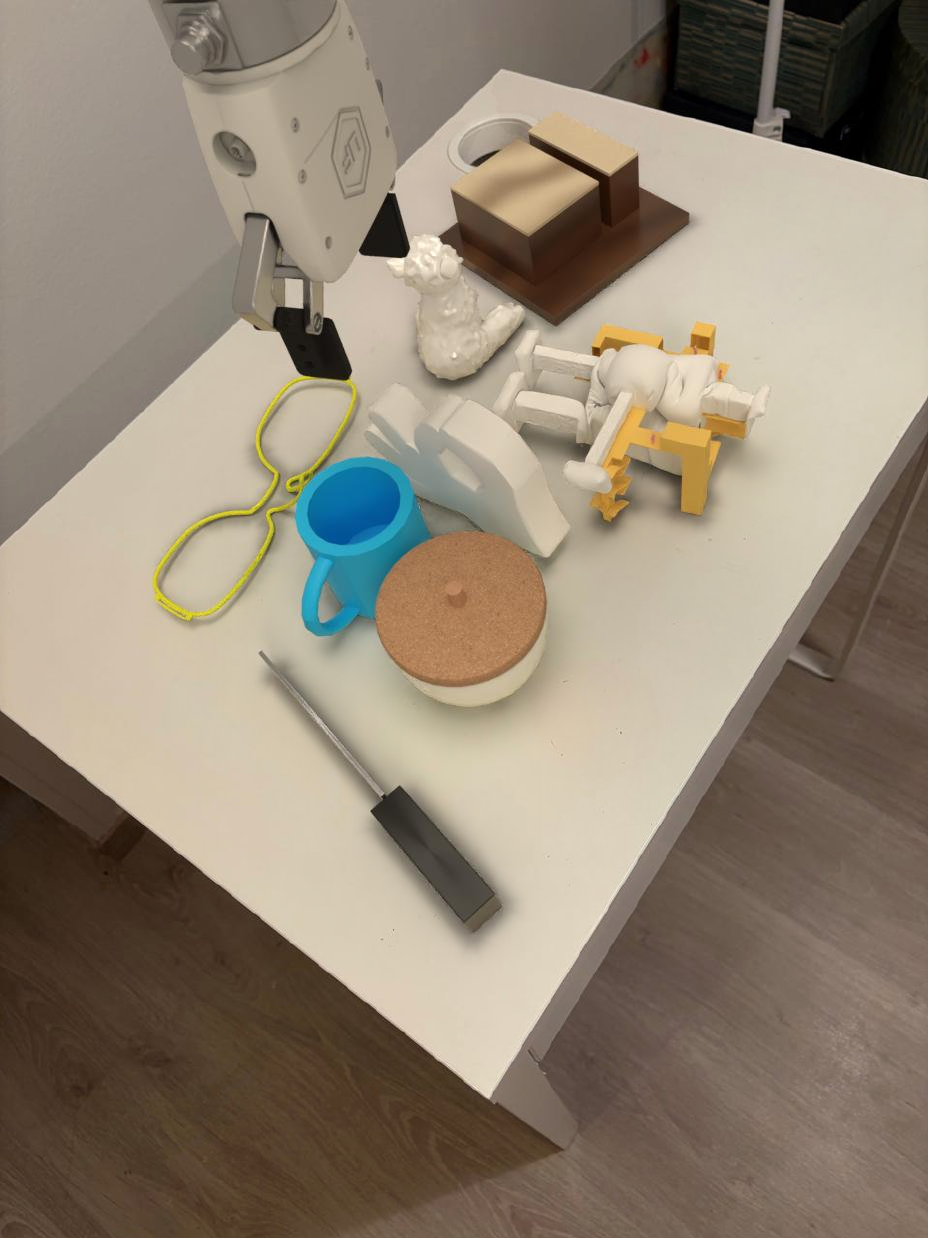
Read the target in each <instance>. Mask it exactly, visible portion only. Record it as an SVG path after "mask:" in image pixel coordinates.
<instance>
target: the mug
mask: <svg viewBox="0 0 928 1238" xmlns="http://www.w3.org/2000/svg"><path fill="white" fill-rule="evenodd" d="M294 520H295V525H296V531H297V534H298V535H299V536H300V538H301V539H302V541H303V543H304V545H305V546H306V548H307V550H308V552H309V553H310V555H311V557H312V558H313V560H314V563H313V564H312V567H311V569H310V572H309V574H308V577H307V579H306V580H305V585H304V589H303V593H302V597H301V609H300V610H301V611H300V612H301V613H300V616H301V619H302V622H303V624H304V628H305V629H306V630H307V631H309V632H310V633H311V634H312V635H314V636H315V637H331V636H333V635H336V634H337V633H338V632H341V631H342V630H344V629H345V628H346V627H347V626H348V625H349V624H350V623H351V622H352V621H354V620H355V619H356V617H357V616H361V617H364V618H369V619H375V607H376V600H377V596H378V593H379V590H380V587H381V585H382V583H383V581H384V579H385V578H386V576H387V574H388V573H389V572H390V570H391V569H392V567H393V566H394V565H395V564H396V563H397V562H398V561H399V560H400V559H401V558H402V557H403V556H404V555H405V554H407V553H408V552H409V551H410V550H412V549H413V548H415V547H416V546H418V545H420V544H422V543H423V542H425V541H428V540H430V539H432V537H431V534H430V532H429V529H428V527H427V523H426V521H425V518H424V516H423V513H422V510H421V507H420V505H419V502H418V498H417V497H416V495H415V494H414V491H413V489H412V486H411V483H410V481H409V478H408V477H407V476H406V475H405V473H404V472H403V471H402V470H401V469H400V468H399V467H398V466H396V465H394V464H392V463H391V462H390V461H389V460H387V459H386V458H380V457H374V456H356V457H349V458H346V459H342V460H341V461H337V462H334V463H332V464H330V465H329V466H327V467H326V468H324V469H322V470H320V471H319V472H318V473H316V474H315V475H314V476H313V478H312V480H311V481H310V482H309V483H308V484H307V485H306V486H305V487H304V488H303V491H302V493H301V495H300V497H299V499H298V501H297V502H296V507H295V511H294ZM326 582H327V584H328V586H329V587H330V589H331V591H332V593H333V594H334V596H335V597H336V599H337V600H338V601H339V603H340V604H341V606H342V608H341V609H340V611H339V612H337V613H336V614H335V615H333V617H332V618H330V619H328V620H326V621H325V622H321V620H320V617H319V604H320V599H321V595H322V591H323V588H324V585H325V583H326Z"/></svg>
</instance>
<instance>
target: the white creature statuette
mask: <svg viewBox="0 0 928 1238" xmlns="http://www.w3.org/2000/svg"><path fill="white" fill-rule="evenodd" d="M409 245H410V251H409V253H408V255H407V256H406V257H405V258H388V259H387V260H386V262H385V263H386V265H387V267H388V269H389V271H390V273H391V275H392V277H393V278H395V279H403V280H404V286H405V287H411V288H412V289H415V290H416V291H417V292H418V293H419V294H420V300H419V301H418V302H417V305H418V306H417V311H416V313H415V314H414V319H415V322H416V329H417V331H416V332H417V336H416V343H417V347H418V350H417V352H418V353H419V359H420V360H421V362H423V363H424V365H425V368H426V370H427V371H428V372H430V373H432V374H433V375H434V376H435V377H436V378H437V379H447V380H449V381H456V380H457V379H460V378H466V377H468V376H472V375H475V374H476V373H477V372H478V370H479V369H482V367H483V365H484V363H486V362H488V361H489V360H490V358H491V357H493V356H494V353H495V352H496V351H497V350H498V349H499V348H501V347H502V346H503V345H505V344H506V342H507V340H508V339H510V337H511V336H512V335H513V334H514V333H515V332H516V330H518V328H519V327H520V326H521V325H522V324H523V321H524V320H525V318H526V311H525V309H524V308H523V306H522V305H519V304H516V305H515V304H514V303H513V302H511V301H509V302H506V303H501V304H498V305H497V306H496V307H494V309H492V310H490V311H489V313H488V315H487V316H486V317H485V318H484V320H483V315H482V314H481V312H480V308H479V306H478V298H479V291H478V290H477V289H473V288H472V287H471V286H470V285H469V283H468V282H466V279H465V277H464V276H462V273H463V271H464V265H463V264H462V262H463V258H462V257H458V255H457V254H456V250H455V249H453V248H452V247H451V246H450V245H443V244H442V242H440V238H439V237H438V236H435V235H434V234H433V233H429V234H427V233H422V234H421V235H414V236H412V239H410V241H409Z"/></svg>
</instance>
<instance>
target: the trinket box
mask: <svg viewBox="0 0 928 1238" xmlns="http://www.w3.org/2000/svg"><path fill="white" fill-rule="evenodd" d="M374 619H375V620H374V622H375V628H376V633H377V635H378V637H379V640H380V643H381V645H382V647H383V649H384V650H385V652H386V653H387V656H388V657H389V658H390V659H391V660H392V662H393V663H394V664H395V665H396V667H397V668H398V670H399V671H400V673H401V674H402V675H403V676H404V677H405V678H406V679H407V680H408V682H410V683H411V684H412V685H413V686H414V687H415V688H416V689H418V690H419V691H421V692H422V693H423V694H424V695H426V696H427V697H429V698H431V699H433V700H435V701H437V702H439V703H440V702H441V703H443V704H447V705H450V706H457V707H467V708H468V707H469V708H470V707H474V708H475V707H480V706H486V705H489V704H493V703H496V702H498V701H501V700H503V699H505V698H507V697H509V696H510V695H512V694H513V693H515V692H516V691H517V690H519V689H520V688H521V687H522V686H524V684H525V683H526V682H527V681H528V680H529V678H530V677H531V676H532V675H533V673H534V672H535V670H536V669H537V667H538V666H539V663H540V662H541V660H542V657H543V654H544V651H545V647H546V644H547V639H548V629H549V627H548V625H549V615H548V599H547V590H546V584H545V582H544V579H543V576H542V573H541V571H540V569H539V567H538V565H537V563H536V562H535V561H534V560H533V558H531V556H530V555H529V553H527V552H526V550H525V549H522V548H520V547H519V546H518V545H516V544H514V543H513V542H511V541H510V540H507V539H505V538H503V537H500V536H498V535H494V534H490V533H486V532H484V531H475V530H466V531H465V530H464V531H461V530H460V531H454V532H448V533H445V534H441V535H437V536H434V537H431V539H430V540H428V541H425V542H423V543H422V544H420V545H418V546H416V547H415V548H413V549H412V550H410V551H409V552H408V553H407V554H405V555H404V556H403V557H402V558H401V559H400V560H399V561H398V562H397V563H396V564H395V565H394V566H393V567H392V569H391V570H390V572H389V573H388V574H387V576H386V578H385V579H384V581H383V583H382V585H381V587H380V590H379V593H378V596H377V600H376V607H375V618H374Z"/></svg>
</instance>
